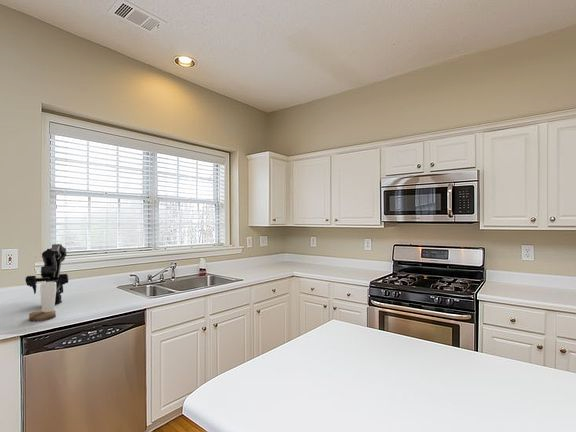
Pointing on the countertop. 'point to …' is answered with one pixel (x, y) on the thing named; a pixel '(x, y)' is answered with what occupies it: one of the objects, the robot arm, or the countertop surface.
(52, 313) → the walnut pedestal
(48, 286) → the drinking glass
